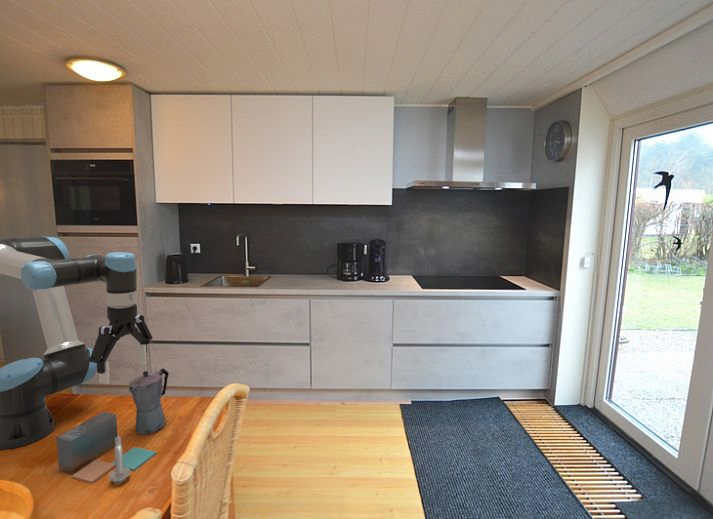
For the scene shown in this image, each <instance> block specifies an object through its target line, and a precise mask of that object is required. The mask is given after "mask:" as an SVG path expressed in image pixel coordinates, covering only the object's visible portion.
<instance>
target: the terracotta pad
mask: <svg viewBox="0 0 713 519" xmlns="http://www.w3.org/2000/svg"><path fill="white" fill-rule="evenodd" d="M111 463H112V462H111ZM111 463H110V462H107V461H102V460H99V459H96V460H94V461H93V462H91V463H90V464H88V465H87V466H85V467H84V468H82V469H81V470H79V471H78V472H76V473H75V474H73V475H72V476H71V479H74V480H78V481H82V482H86V483H89V484H94V483H96V481H98V480H99V479H101V478H102V477H103V476H105V475H107V474H108V473H109V472H111V470H113V469H114V468H115V464H111Z"/></svg>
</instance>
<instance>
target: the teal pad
mask: <svg viewBox="0 0 713 519" xmlns="http://www.w3.org/2000/svg"><path fill="white" fill-rule="evenodd" d="M156 454H157V451H154V450H150V449H146V448H141V447H137V446H134V447H132V448H130V449H129V450H128V451H127V452H125V453H124V454H123V467H126V468H129V469H130V472H136V470H138V469H139V468H140V467H141V466H143V465H144V464H146V462H148V461H149V460H150V459H152V458H153V457H154V456H155V455H156ZM111 464H115V460H114V461H113V462H111Z"/></svg>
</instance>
